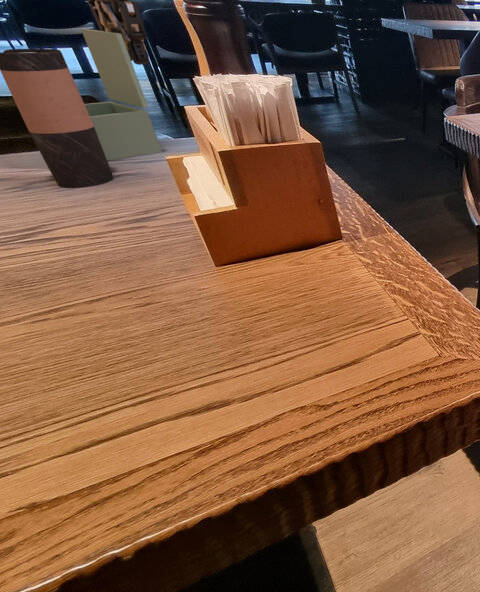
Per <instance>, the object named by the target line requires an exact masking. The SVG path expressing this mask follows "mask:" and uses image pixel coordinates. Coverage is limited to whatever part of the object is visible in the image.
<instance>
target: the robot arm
mask: <svg viewBox="0 0 480 592" xmlns="http://www.w3.org/2000/svg"><path fill="white" fill-rule="evenodd" d="M87 3H88V5H89V7H90V10H91V12H92V14H93V17H94V19H95V21H96V23H97V26H98V28H99V31H105V32H112V33H119V34H121V35H122V37H123V39H125V40H126V41H127V45H128V48H129V51H128V54H129V56H130V59H131V62H132V63H134V64H135V65H140V66H141V65H142V66H143V65H149V64H150V59H149V57H148V54H147V51H146V50H145V48H144V45H145V44H144V42H145V40H146V39H148V35H147V31H146V27H145V25H144V21H143V18H142V14H141V10H140V9H139V4H138V3H137V2H136V1H128V0H87ZM143 44H144V45H143Z"/></svg>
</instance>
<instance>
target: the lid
mask: <svg viewBox="0 0 480 592" xmlns="http://www.w3.org/2000/svg"><path fill="white" fill-rule="evenodd" d="M80 30H81V33H82V35H83V37H84V40H85V43H86V45H87V47H88V50H89V53H90V55H91V57H92V61H93V63H94V65H95V68H96V70H97V73H98V75H99V78H100V81H101V83H102V85H103V87H104V90H105V92H106V95H107V98H108V99H109V100H111V101H114V102H117V103H121V104H125V105H128V106H132V107H136V108H139V109H149V105H148V103H147V99H146V96H145V95H144V91H143V89H142V86H141V83H140V80H139V77H138V75H137V72H136V71H135V68H134V64H133V61H131V59H130V56H129V54H128V51H129V48H128V45H127V41H126V40H125V39H123V37H122V35H121V34H119V33H112V32H105V31H100V30H97V29H91V28H90V29H89V28H80ZM143 45H144V48H145V51H146V50H147V48H146V47H147V46H146V45H145V43H143Z"/></svg>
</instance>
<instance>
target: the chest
mask: <svg viewBox="0 0 480 592" xmlns="http://www.w3.org/2000/svg"><path fill="white" fill-rule="evenodd" d="M84 105H85V107H86V109H87V112H88V114H89V116H90V118H91V121H92V123H93V125H94V128H95V130H96V133H97V135H98V138H99V141H100V143H101V146H102V148H103V151H104V154H105V156H106V159H107V161H113V160H119V159H125V158H133V157H137V156H143V155H149V154H155V153H156V154H157V153H162V152H163V150H162V146H161V144H160V142H159V138H158V136H157V134H156V131H155V128H154V126H153V123H152V120H151V117H150V115H149V112H148V110H145V109H143V108H139V107H136V106H132V105H128V104H125V103H121V102H117V101H114V100H111V101H103V102H102V101H101V102H92V103H84Z"/></svg>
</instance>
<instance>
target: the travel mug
mask: <svg viewBox="0 0 480 592" xmlns="http://www.w3.org/2000/svg"><path fill="white" fill-rule="evenodd" d="M0 73H1V74H2V77H3V79H4V82H5V84H6V86H7V88H8V90H9V92H10V94H11V96H12V99H13V100H14V103H15V104H16V107H17V108H18V111H19V113H20V116H21V118H22V119H23V122H24V124H25V126H26V128H27V130H28V132H29V134H30V136H31V138H32V140H33V142H34V144H35V145H36V147H37V149H38V151H39V153H40V155H41V157H42V158H43V161H44V162H45V164H46V166H47V168H48V170H49V172H50V173H51V175H52V177H53V180H54V181H55V183H56V185H58V187H60V188H84V187H91V186H97V185H102V184H105V183H108V182H110V181H112V180H113V179H114V175H113V173H112V170H111V167H110V164H109V162H108V161H109V160H108V161H107V159H106V156H105V154H104V151H103V148H102V146H101V143H100V141H99V138H98V135H97V133H96V130H95V128H94V125H93V123H92V121H91V118H90V116H89V114H88V112H87V109H86V107H85V105H84V104H85V102H84V100H83V98H82V96H81V94H80V91H79V89H78V87H77V84H76V81H75V79H74V78H73V75H72V73H71V71H70V69H69V66H68V63H67V62H66V59H65V57H64V54H63V53H62V51H61V50H60V49H57V48H10V49H4V50H3V51H2V52H0Z"/></svg>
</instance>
